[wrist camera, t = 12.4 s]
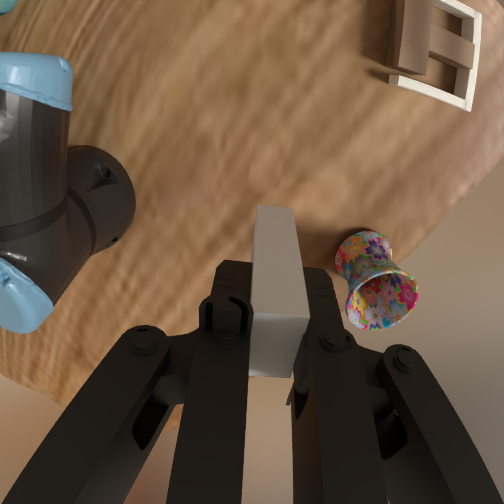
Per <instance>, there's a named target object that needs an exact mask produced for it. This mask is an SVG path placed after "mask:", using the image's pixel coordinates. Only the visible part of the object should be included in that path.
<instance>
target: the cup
mask: <svg viewBox="0 0 504 504" xmlns="http://www.w3.org/2000/svg"><path fill="white" fill-rule="evenodd" d="M16 2H17V0H0V15H3V14H5V13H8V12H10V11H11V9H12V8H13V6H14V5H15V4H16Z"/></svg>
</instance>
